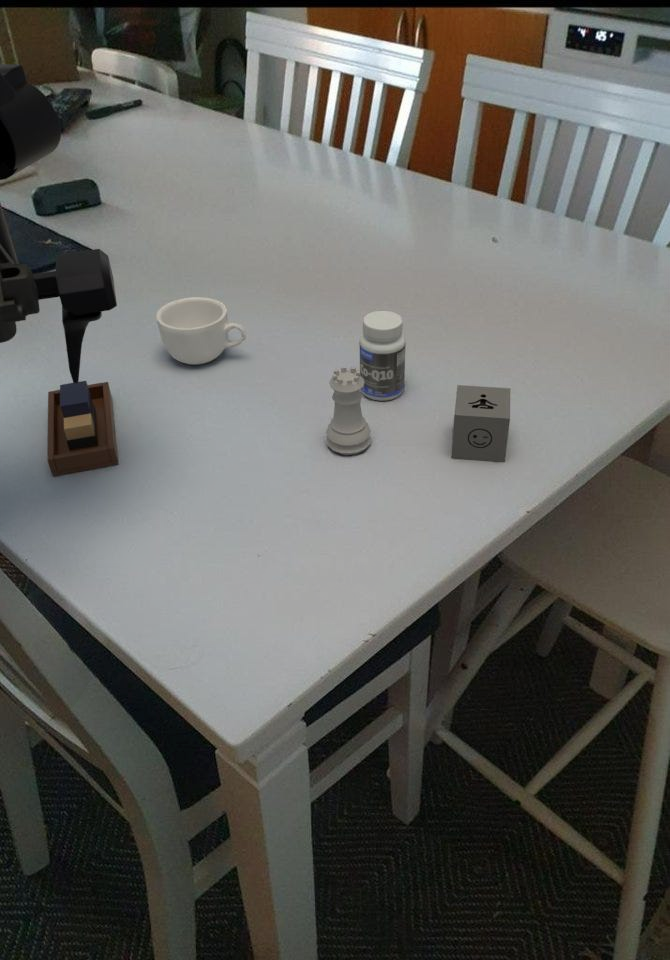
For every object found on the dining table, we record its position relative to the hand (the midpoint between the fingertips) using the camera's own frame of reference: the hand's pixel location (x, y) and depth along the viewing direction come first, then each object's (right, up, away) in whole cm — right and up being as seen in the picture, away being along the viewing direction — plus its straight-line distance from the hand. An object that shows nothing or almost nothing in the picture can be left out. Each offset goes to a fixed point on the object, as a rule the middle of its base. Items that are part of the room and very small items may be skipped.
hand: (19, 390), depth 67 cm
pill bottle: (+31, +2, +20) cm, 37 cm away
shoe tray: (+1, -3, +15) cm, 15 cm away
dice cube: (+40, -4, +12) cm, 42 cm away
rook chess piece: (+27, -4, +13) cm, 31 cm away
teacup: (+11, +7, +26) cm, 29 cm away
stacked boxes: (+1, -2, +15) cm, 15 cm away
